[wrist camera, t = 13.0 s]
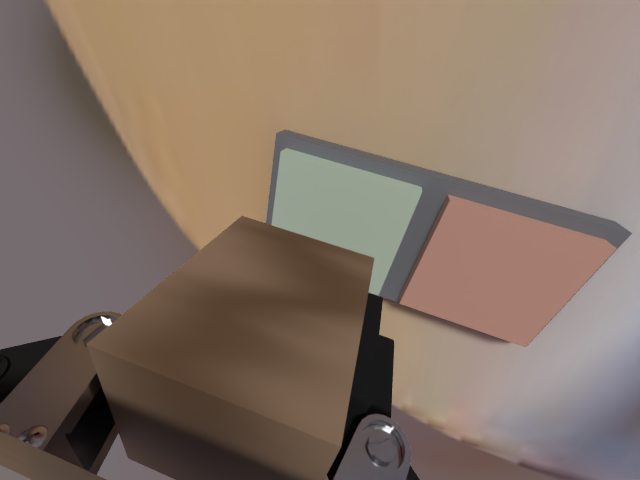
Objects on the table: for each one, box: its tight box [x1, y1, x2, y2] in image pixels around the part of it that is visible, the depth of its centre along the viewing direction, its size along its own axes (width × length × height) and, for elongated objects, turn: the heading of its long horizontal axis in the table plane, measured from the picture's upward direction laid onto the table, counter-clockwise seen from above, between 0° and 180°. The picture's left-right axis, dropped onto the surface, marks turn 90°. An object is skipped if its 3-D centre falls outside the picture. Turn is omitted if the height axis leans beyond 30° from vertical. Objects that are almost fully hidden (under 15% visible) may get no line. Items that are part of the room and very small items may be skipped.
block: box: [86, 216, 374, 480], centre depth 9 cm, size 5×5×6 cm
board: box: [266, 130, 632, 347], centre depth 16 cm, size 17×8×2 cm, turn 78°
